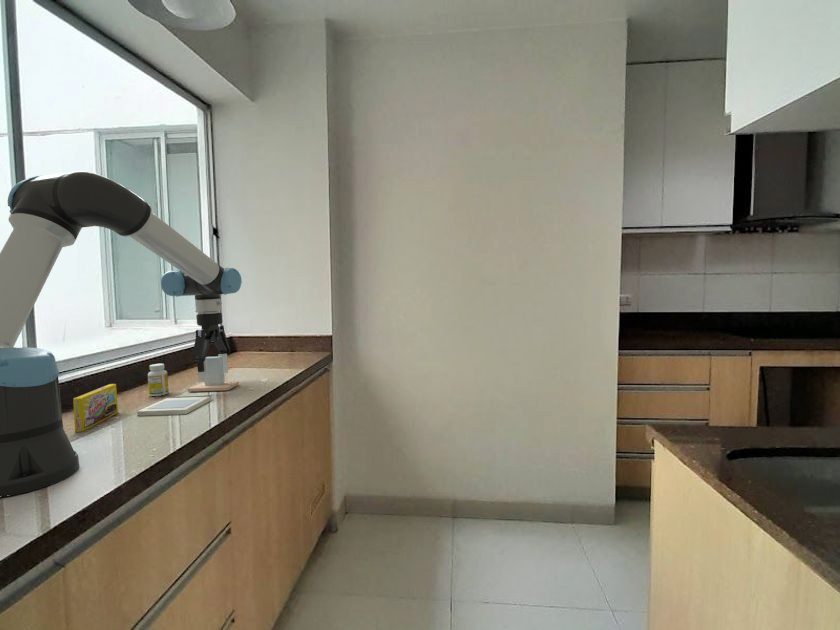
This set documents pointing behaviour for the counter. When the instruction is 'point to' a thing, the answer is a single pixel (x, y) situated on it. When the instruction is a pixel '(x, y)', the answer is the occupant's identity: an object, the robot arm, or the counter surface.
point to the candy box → (95, 407)
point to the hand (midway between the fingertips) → (214, 377)
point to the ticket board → (175, 405)
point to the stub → (214, 377)
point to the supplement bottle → (158, 380)
